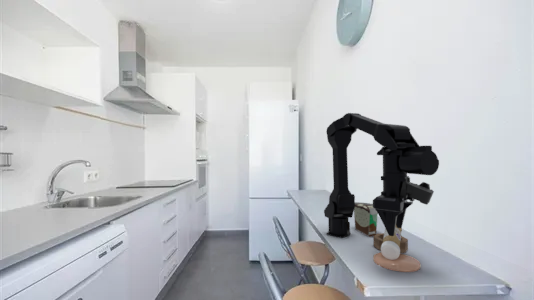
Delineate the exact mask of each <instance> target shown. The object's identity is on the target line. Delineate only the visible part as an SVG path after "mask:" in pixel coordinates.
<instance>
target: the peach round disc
mask: <svg viewBox="0 0 534 300" xmlns="http://www.w3.org/2000/svg"><path fill="white" fill-rule="evenodd" d="M373 262H374V263H375V264H376V265H377V266H379V267H381V268H384V269H387V270H390V271H393V272H400V273H413V272H418V271H420V269H421V262H420V261H419V260H418V259H417V258H415V257H412V256H410V255H407V254H406V253H400V255H399V257H398V258H397V259H395V260H390V259H387V258H385V257H384V256H383V255H382V253H381V251H380V252H376V253H375V254H374V255H373Z"/></svg>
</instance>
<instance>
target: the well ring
mask: <svg viewBox="0 0 534 300" xmlns="http://www.w3.org/2000/svg"><path fill="white" fill-rule="evenodd" d="M372 237H373V247H374V248H376V249H377V250H378V251H380V252H381V245H382V243H383V238H384V232H383V233H381V232H379V233H376V235H374V236H372ZM408 249H409V239H408V238H406V237H404V236H403V235H401V241H400V254H406V253H407V251H408Z"/></svg>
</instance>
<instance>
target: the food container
mask: <svg viewBox="0 0 534 300" xmlns="http://www.w3.org/2000/svg"><path fill="white" fill-rule="evenodd" d="M378 216H379V214H378V213H377V211H376V210H375V208H373V203H370V202H369V203H368V202H356V201H355V206H354V211H353V217H354V228H355V230H356V231H357V232H360V233H361V234H363V235H365V236H367V237H368V238H370V237H373V236H374V235H376V234H377V227H378V226H377V225H378V224H377V223H378Z"/></svg>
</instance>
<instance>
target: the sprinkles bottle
mask: <svg viewBox="0 0 534 300" xmlns="http://www.w3.org/2000/svg"><path fill="white" fill-rule="evenodd" d="M384 229H385V230H384V232H383V233H384V238H383V243H382V245H381V251H380V252H381V253H382V255H383V256H384V257H385V258H387V259H390V260H395V259H397V258H398V257H399V255H400V254H401V253H400V241H401V236H402V232H403V229H402V228H397V226H396V227H395V232H394V236H389V234H388V232H387V230H386V228H384Z"/></svg>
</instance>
